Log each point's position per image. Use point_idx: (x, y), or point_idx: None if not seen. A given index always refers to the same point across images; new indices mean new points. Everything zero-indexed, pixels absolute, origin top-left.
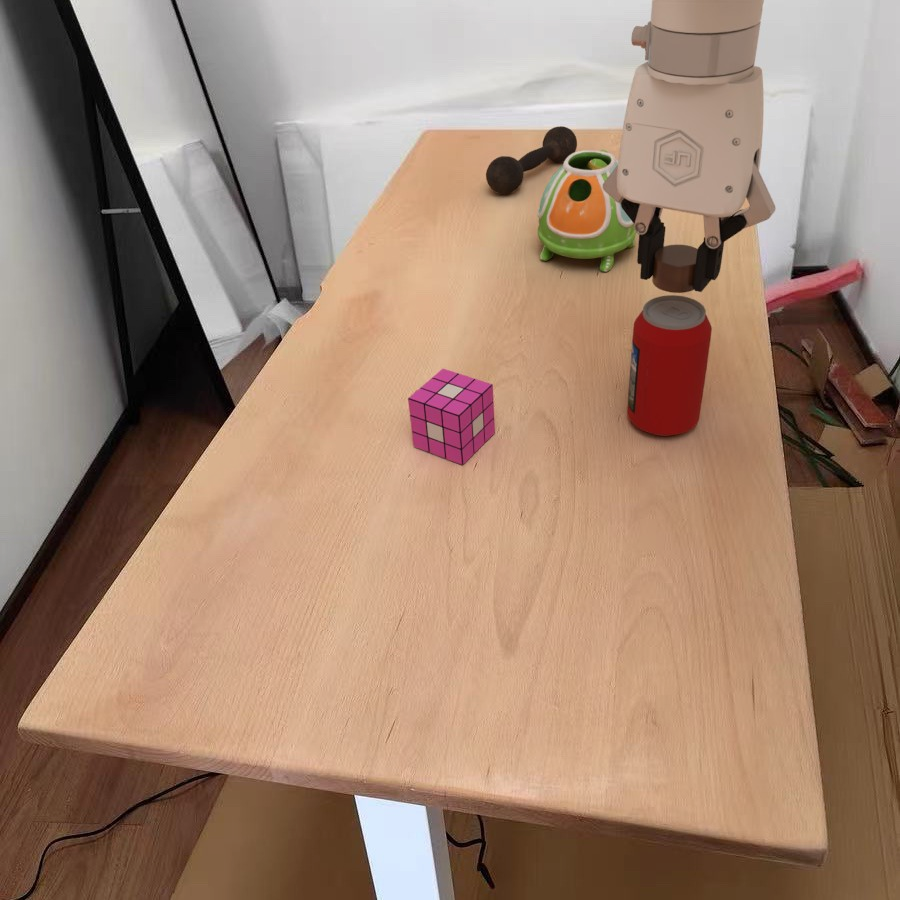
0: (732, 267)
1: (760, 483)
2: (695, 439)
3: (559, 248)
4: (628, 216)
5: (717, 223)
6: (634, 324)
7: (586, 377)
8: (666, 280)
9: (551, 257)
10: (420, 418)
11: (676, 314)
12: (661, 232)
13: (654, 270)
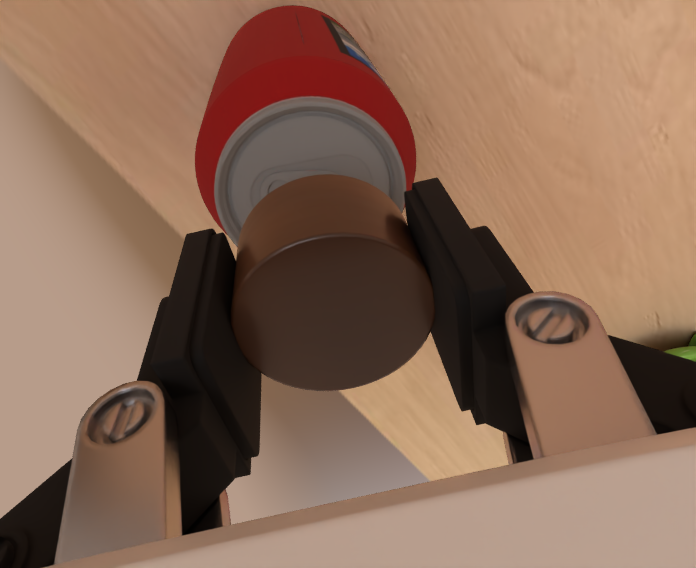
0: (435, 451)
1: (18, 31)
2: (208, 73)
3: (692, 354)
4: (663, 352)
5: (66, 530)
6: (401, 110)
7: (493, 108)
8: (317, 197)
9: (689, 343)
10: None
11: None
12: (456, 375)
13: (393, 219)
